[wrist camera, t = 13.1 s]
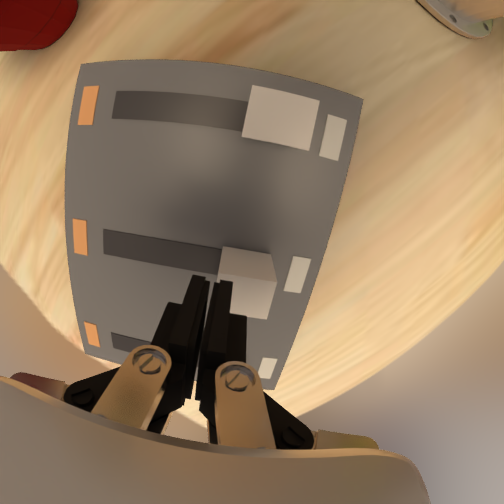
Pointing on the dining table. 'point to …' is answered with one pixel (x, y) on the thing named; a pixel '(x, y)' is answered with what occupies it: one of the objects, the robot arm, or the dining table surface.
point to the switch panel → (193, 198)
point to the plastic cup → (34, 22)
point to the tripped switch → (248, 281)
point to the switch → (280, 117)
